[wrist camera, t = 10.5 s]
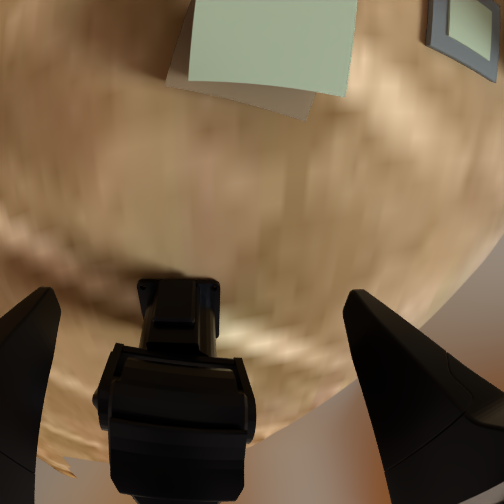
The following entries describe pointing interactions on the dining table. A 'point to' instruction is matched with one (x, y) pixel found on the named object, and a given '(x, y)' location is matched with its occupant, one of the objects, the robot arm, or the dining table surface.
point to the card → (466, 33)
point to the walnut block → (253, 94)
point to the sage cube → (274, 43)
